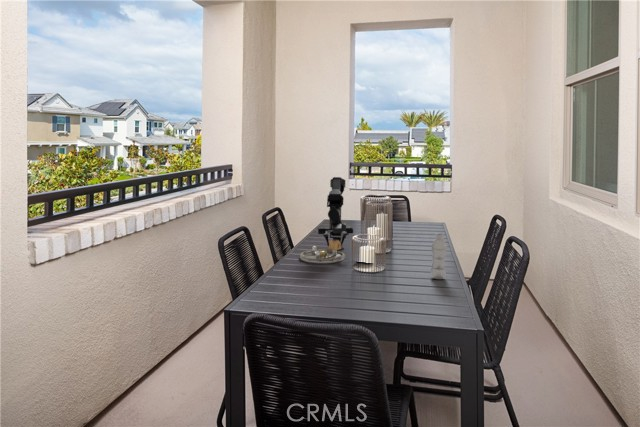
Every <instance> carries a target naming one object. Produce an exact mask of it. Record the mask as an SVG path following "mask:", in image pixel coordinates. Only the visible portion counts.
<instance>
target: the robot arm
mask: <svg viewBox="0 0 640 427" xmlns="http://www.w3.org/2000/svg"><path fill="white" fill-rule="evenodd" d="M329 181H330V182H329V183H330V185H329V186H330V188H331V190H330V191H329V194H328V195H327V200H326V201H327V204H326V208H329V210H328V212H327V216H328V218H329V221H328V223H329V228H326V227H325V226H323V227H322V226H319V227H316V230H315V231H316V234H317V235H321V236H323V237H324V239H325V243H326V246H327V248H328V247H329V242H330V240H329V239H332V240H339V242H341V249H340V250H344V249H345V248H344V246H343V245H344V241H345V239H346V238H347V236H348V235H349V234H354V228H353V227H352V226H349V225H347V224H346V223H343V221H342V207H343V206H344V196H343V194H344V191H345V188H346V179H344V178H343V177H340V176H334V177H332V178H331V179H330V180H329ZM328 233H329V234H328Z"/></svg>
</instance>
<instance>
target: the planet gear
mask: <svg viewBox="0 0 640 427" xmlns="http://www.w3.org/2000/svg"><path fill="white" fill-rule="evenodd" d="M327 248H328V250H337V251H339V250H342V249H341V242H339V240H333V239H331V240H329V247H328V246H327Z"/></svg>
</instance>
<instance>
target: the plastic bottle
mask: <svg viewBox="0 0 640 427" xmlns="http://www.w3.org/2000/svg"><path fill="white" fill-rule="evenodd" d="M434 239H435V240H434V241H433V243H432V245H431V252H432V255H431V256H432V261H431V267H430V277H431V278H432V279H435V280H443V279H445V277H446V274H447V272H446V255H447V249H448V245H447V244H446V241H445V235H444V234H441V233H436V234H435V236H434Z"/></svg>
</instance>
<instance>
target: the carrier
mask: <svg viewBox="0 0 640 427" xmlns="http://www.w3.org/2000/svg"><path fill="white" fill-rule="evenodd" d="M299 256H300V260H301V261H303V262H306V263H309V264H310V263H311V264H318V265H319V264H320V265H321V264H323V265H326V264H335V263H339V262H343V261H344V260H345V257H346V255H345V253H344V252H343V251H339V250H331V249H324V248H323V249H317V246H316V245H313V246H312V247H311V250H305V251H301V253H299Z"/></svg>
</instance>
